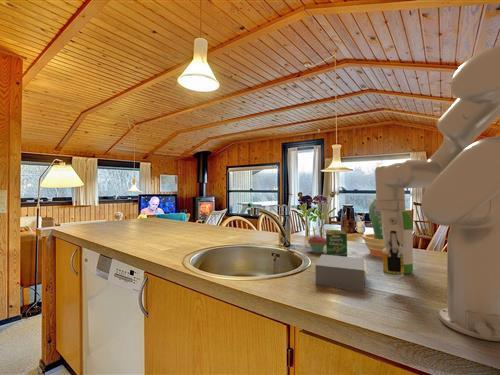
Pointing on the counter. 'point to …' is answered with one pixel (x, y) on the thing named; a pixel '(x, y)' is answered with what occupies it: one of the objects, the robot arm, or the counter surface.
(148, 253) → the counter surface
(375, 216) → the potted cactus
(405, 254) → the wine bottle
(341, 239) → the coffee box
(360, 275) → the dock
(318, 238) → the cupcake
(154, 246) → the counter surface
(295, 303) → the counter surface
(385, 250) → the supplement bottle
